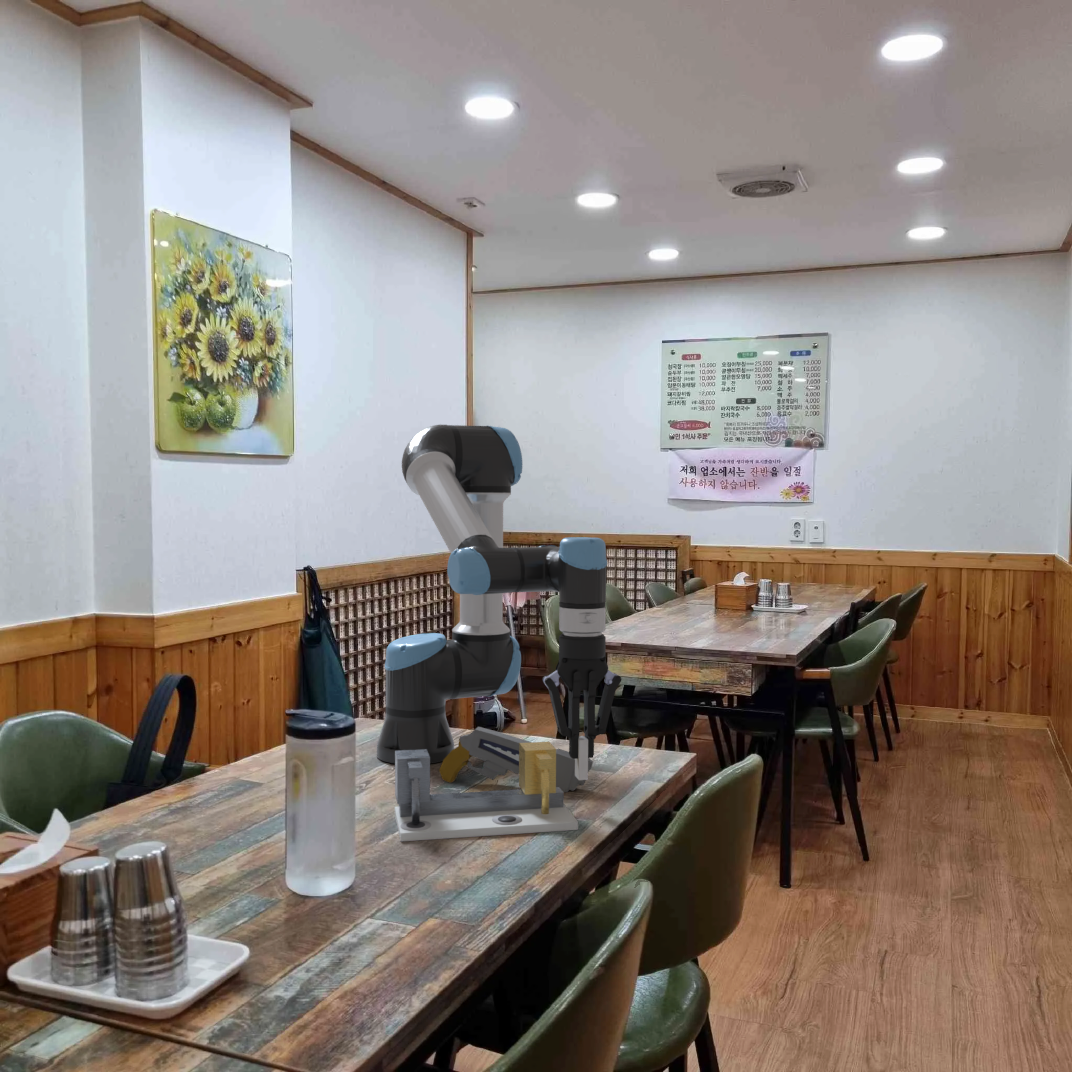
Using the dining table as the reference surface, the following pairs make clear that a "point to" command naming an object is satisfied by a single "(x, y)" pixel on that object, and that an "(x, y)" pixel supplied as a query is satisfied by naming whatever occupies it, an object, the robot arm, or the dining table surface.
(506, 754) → the gun
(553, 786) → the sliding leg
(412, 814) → the grey sliding rail fixture
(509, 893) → the dining table surface
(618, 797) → the dining table surface
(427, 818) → the bolt plate
